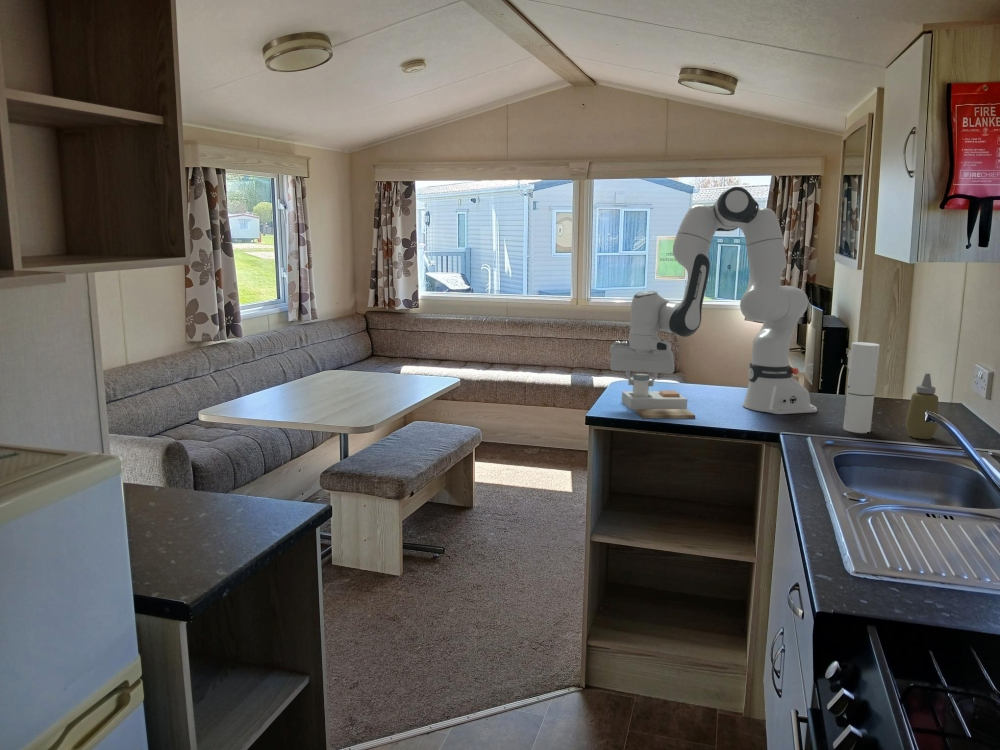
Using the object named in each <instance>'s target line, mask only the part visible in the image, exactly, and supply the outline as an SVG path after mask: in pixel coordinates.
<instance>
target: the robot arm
mask: <svg viewBox="0 0 1000 750" xmlns="http://www.w3.org/2000/svg"><path fill="white" fill-rule="evenodd" d="M737 229H740V230H741V232H742V233H743V235H744V238H745V244H746V245H745V246H746V252H747V259H748V267H749V278H748V284H747V288H746V290H745V292H744V293H743V294H742V297H741V298H740V303H739V307H740V311H741V314H742V315H743V316H744V317H745V318H746V319H747V320H750V321H754V322H759V323H762V326H761V328H760V330H759V332H758V333H756V335H755V336H754V338H753V341H752V349H751V350H752V351H751V361H750V363H749V369H748V386H747V392H746V395H745V398H744V401H743V403H742V406H743V407H744V408H747V409H748V410H751V411H757V412H765V413H770V414H775V415H787V414H789V415H790V414H804V413H805V414H806V413H816V412H818V409H817V406H815V405H814V404H812V403H811V398H810V397H811V396H810V392H809V390H808V389H807V388H806V387H805V386H803V384H801V383H800V382H799V381H797V380H796V379H795V378H794V377H793V375H799V373H800V369H799V368H797V367H795V366H794V367H792V366H790V364H789V356H790V347H791V346H790V345H791V342H792V337H793V334H794V332H795V328H796V326H797V324H798V322H799V320H800V318H801V317H802V316H803V314H805V312H806V311H807V310H808V305H809V299H808V295H807V294H806V292H805V291H804V290H803V289H800V288H798V287H795V286H791V285H781V278H782V277H781V276H782V272H783V270H784V269H785V268H786V266H787V262H788V261H787V257H786V249H785V243H784V239H783V232H782V229H781V226H780V222H779V220H778V217H777V214H776V212H775V211H774V210H772V209H771V208H768V207H760V205H759V203H758V202H757V201H756V200H755V198H754V197H753V196H752V194H751V193H750V192H749V191H748V190H747V189H746V188H744V187H741V186H732V187H729V188H727V189H725V190H724V191H722V193H721V194H720V195H719V197H718V198H717V199H716V201H715V203H714V204H713V205H709V206H707V205H705V204H695V205H693V206H691V207H690V208H688V210H687V212H686V214H685V215H684V217H683V219H682V221H681V223H680V225H679V228H678V230H677V233H676V236H675V239H674V241H673V245H672V254H673V257H674V259H675V261H677V263H678V264H679V265H680V266H682V267H683V268H685V270H686V272H687V282H686V286H685V290H684V293H683V294H684V295H683V299H682V301H681V302H674V301H669V300H668V299H665V298H664V297H662V296H660V295H659V294H658V291H655V290H647V291H646V290H645V291H639V292H637V293H636V294H634V295H633V297H632V301H631V305H630V313H629V316H630V317H629V320H630V329H629V333H628V335H629V337H628V338H629V339H628V341H614V342H612V343H611V344H610V346H609V354H610V355H611V356H610V362H609V369H610V370H611V371H613V372H614V371H616V372H617V371H619V372H625V373H624V374H625V376H626V378H627V380H628V383H627V384H628V386H633V378H631V376H630V374H631V372H635V373H650V374H651V373H652V376H653V377H652V379H649V387H651V388H652V387H654V384H655V383H654V382H655V380H656V379H657V377H658V375H659V374H666V375H667V374H668V375H669V374H670V375H671V374H673V373H674V372H675V361H674V360H675V359H674V358H675V357H674V354H673V351H672V350H671V349H672V343H671V342H670V341H669V340H666V339H662V338H660V337H659V336H658V335H659V332H658V331H661V332H662V331H663V332H665V333H670V334H675V335H677V336H680V337H684V338H686V337H690V336H692V335H693V334H695V333H696V332H697V331H698V330H699V328H700V326H701V323H702V313H703V312H702V310H703V303H704V299H705V293H706V289H707V284H708V279H709V274H710V268H711V263H710V260H709V250H710V247H711V244H712V240H713V238H714V235H715V233H716V232H733V231H735V230H737Z"/></svg>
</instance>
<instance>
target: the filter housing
mask: <svg viewBox="0 0 1000 750" xmlns="http://www.w3.org/2000/svg"><path fill="white" fill-rule="evenodd" d="M660 391H661V390H659V391H658V390H657V391H656V390H655V391H653V390H649V392H648V397H632V395H633V390H625V391H624V390H622V391H621V402H622V404H624V405H625V407H627V408H628V409H629V410H630V411H636V409H687V410H688V398H686V397H685V396H684V395H682V394H681V393H679V394H680V395H679V397H662V396H661V395H660Z"/></svg>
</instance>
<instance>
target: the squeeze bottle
mask: <svg viewBox="0 0 1000 750" xmlns="http://www.w3.org/2000/svg"><path fill="white" fill-rule="evenodd" d="M935 393H936V387H935V386H932V378H931V373H927V372H926V373H925V374H924V377H923V378H922V382H921V384H919V385H916V389H915V392H913V393H912V394H911V397H910V401H909V404H908V405H909V406H908V409H907V415H906V419H905V428H906V431H907V435H908V436H909V437H911V438H913V439H914V438H915V439H917V438H918V440H931V439H933V437H934V435H935V433H936V431H937V429H938V427H939V423H938V424H937V423H934V422H926V421H925V412H926V411H927V410H928V411H931V412H934V413H936V414H938V415H939V396H938V395H937V394H935Z"/></svg>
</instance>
